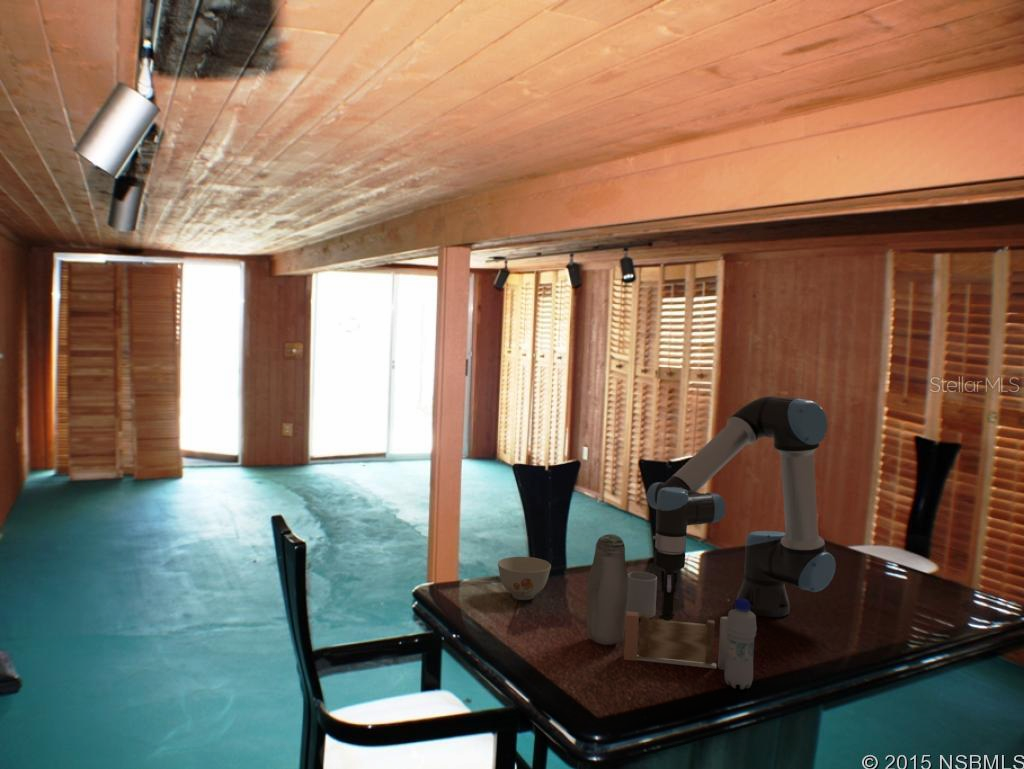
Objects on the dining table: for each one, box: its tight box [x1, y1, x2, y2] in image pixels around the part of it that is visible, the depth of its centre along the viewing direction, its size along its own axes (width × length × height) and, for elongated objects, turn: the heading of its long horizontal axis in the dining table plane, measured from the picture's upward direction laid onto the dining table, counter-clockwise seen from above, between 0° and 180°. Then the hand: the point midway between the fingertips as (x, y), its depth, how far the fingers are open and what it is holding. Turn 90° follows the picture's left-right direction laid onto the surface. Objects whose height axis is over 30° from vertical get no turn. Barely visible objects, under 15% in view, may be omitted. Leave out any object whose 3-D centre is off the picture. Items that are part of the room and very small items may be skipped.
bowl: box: [497, 556, 552, 601], centre depth 227 cm, size 16×16×10 cm
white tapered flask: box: [585, 533, 629, 646], centre depth 194 cm, size 10×10×28 cm
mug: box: [627, 571, 658, 619], centre depth 218 cm, size 12×8×11 cm
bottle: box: [723, 598, 758, 690], centre depth 172 cm, size 7×7×20 cm
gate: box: [638, 614, 716, 664], centre depth 183 cm, size 18×2×10 cm, turn 81°
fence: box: [623, 611, 728, 671], centre depth 183 cm, size 26×3×12 cm, turn 80°
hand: (665, 642), depth 189 cm, fingers closed
